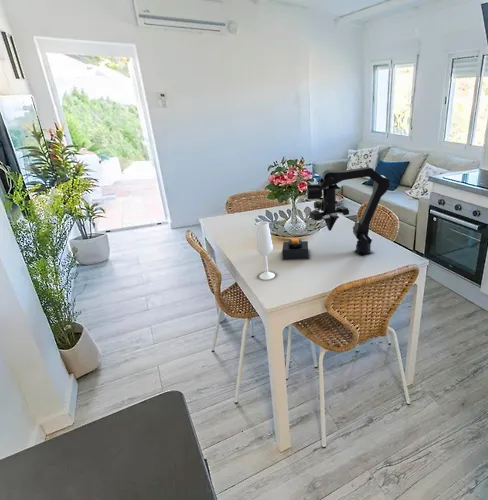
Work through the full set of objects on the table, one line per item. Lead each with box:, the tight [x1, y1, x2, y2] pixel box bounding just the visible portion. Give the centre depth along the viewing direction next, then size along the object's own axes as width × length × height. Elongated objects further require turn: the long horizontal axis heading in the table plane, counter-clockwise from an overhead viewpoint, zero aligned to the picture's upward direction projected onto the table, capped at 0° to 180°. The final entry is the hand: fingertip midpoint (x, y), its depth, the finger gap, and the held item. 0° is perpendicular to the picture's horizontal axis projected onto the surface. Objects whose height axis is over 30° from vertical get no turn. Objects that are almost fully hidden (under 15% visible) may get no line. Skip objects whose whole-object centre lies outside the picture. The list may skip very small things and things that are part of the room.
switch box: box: [281, 239, 310, 261], centre depth 169 cm, size 12×10×7 cm
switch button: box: [290, 237, 300, 244], centre depth 167 cm, size 4×4×2 cm
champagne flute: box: [255, 220, 276, 280], centre depth 145 cm, size 7×7×24 cm
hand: (329, 230), depth 166 cm, fingers closed
